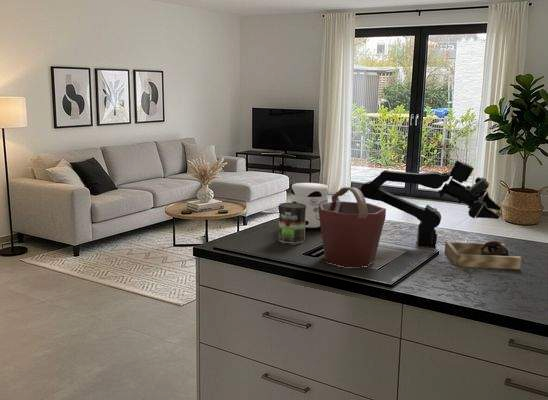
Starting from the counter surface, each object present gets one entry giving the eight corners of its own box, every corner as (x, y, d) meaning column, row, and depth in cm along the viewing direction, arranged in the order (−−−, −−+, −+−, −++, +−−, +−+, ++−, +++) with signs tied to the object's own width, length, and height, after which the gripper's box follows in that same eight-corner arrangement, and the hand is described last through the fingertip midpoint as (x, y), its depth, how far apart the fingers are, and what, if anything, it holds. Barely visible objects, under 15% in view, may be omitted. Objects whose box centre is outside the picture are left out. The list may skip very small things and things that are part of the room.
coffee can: (299, 245, 204) (301, 208, 202) (274, 242, 208) (275, 206, 206) (308, 239, 214) (309, 203, 211) (283, 236, 218) (284, 201, 215)
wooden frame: (456, 266, 184) (457, 254, 183) (444, 251, 201) (445, 241, 200) (519, 269, 182) (521, 257, 181) (502, 254, 199) (503, 243, 198)
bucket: (315, 250, 199) (318, 182, 195) (377, 252, 199) (381, 183, 194) (319, 271, 175) (322, 194, 171) (388, 273, 175) (393, 196, 170)
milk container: (330, 232, 225) (332, 189, 222) (288, 231, 226) (289, 188, 222) (327, 223, 243) (328, 182, 239) (287, 222, 243) (289, 181, 239)
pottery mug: (516, 267, 186) (508, 248, 183) (488, 277, 188) (480, 258, 185) (505, 249, 196) (498, 231, 193) (479, 258, 199) (471, 240, 196)
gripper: (468, 181, 190) (510, 203, 186) (473, 167, 206) (512, 187, 202) (452, 207, 195) (493, 229, 192) (458, 192, 211) (496, 211, 208)
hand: (499, 213), depth 198 cm, fingers open, 9 cm apart
